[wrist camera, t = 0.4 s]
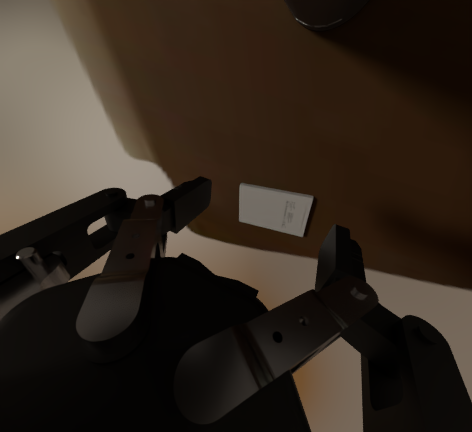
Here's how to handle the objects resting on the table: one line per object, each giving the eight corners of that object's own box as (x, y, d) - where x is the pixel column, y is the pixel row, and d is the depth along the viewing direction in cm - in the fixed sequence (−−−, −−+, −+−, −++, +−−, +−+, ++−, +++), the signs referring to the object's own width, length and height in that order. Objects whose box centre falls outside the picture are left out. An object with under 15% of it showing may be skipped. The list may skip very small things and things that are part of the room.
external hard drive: (242, 181, 34) (314, 194, 30) (241, 217, 39) (303, 233, 35) (239, 185, 33) (313, 199, 29) (238, 222, 38) (302, 238, 34)
